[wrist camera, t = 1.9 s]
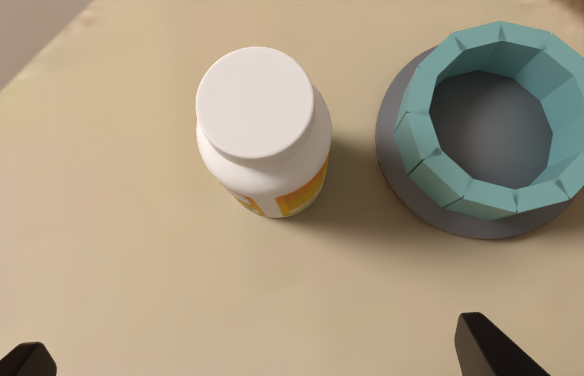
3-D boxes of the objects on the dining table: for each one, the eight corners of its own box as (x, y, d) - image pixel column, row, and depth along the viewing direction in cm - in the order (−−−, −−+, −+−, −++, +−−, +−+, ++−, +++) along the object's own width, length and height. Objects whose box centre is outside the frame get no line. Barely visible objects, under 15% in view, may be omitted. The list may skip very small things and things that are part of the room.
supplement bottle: (327, 124, 24) (338, 25, 14) (325, 220, 23) (336, 182, 13) (231, 122, 24) (180, 24, 15) (225, 217, 23) (166, 178, 14)
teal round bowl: (613, 210, 22) (674, 196, 19) (409, 262, 22) (429, 259, 18) (538, 25, 25) (578, -19, 21) (352, 72, 24) (359, 36, 21)
